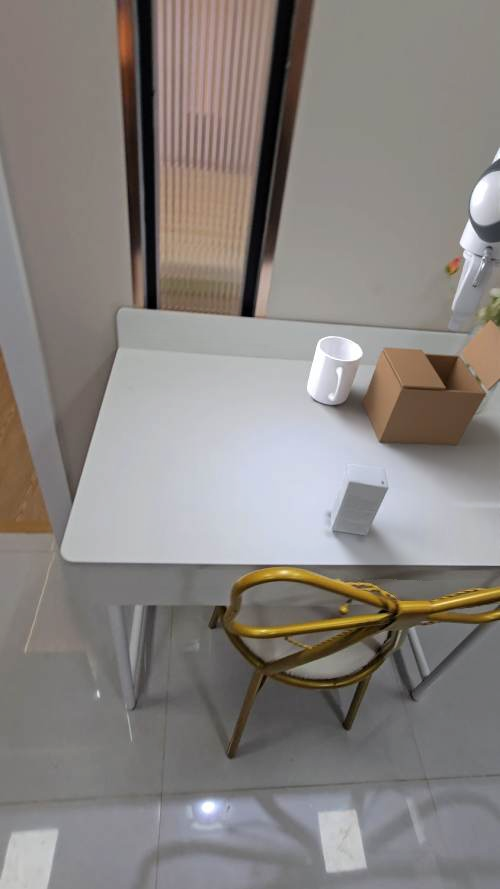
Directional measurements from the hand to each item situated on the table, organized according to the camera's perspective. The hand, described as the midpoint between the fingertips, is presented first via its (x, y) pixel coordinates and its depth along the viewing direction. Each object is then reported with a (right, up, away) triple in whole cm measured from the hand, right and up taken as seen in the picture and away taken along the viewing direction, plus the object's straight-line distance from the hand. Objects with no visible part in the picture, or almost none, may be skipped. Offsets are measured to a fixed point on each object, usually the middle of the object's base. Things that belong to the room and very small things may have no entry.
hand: (455, 317), depth 85 cm
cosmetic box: (-21, -36, -5) cm, 42 cm away
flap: (+9, -5, +6) cm, 12 cm away
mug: (-19, -12, +20) cm, 31 cm away
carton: (-3, -18, +17) cm, 25 cm away
